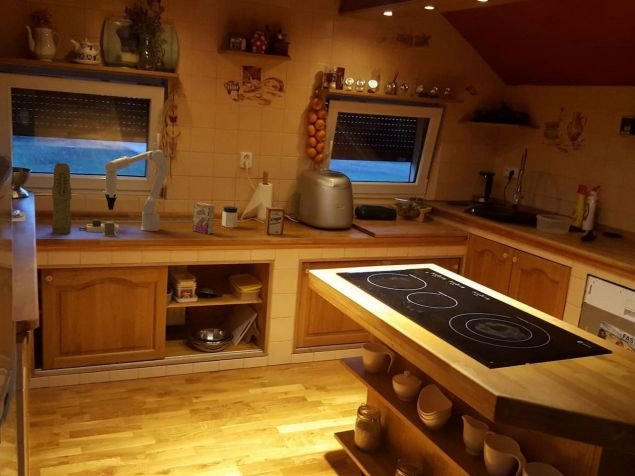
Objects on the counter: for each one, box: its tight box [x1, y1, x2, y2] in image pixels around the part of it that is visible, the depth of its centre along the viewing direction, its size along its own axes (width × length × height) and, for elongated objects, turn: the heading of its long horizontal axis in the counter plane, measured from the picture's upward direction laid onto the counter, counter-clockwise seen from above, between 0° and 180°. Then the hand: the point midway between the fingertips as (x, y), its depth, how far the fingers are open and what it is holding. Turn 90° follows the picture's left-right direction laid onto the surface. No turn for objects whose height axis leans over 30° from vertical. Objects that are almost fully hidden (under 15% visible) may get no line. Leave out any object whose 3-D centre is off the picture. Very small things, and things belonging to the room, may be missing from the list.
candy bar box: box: [192, 201, 215, 235], centre depth 336 cm, size 11×5×16 cm, turn 59°
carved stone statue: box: [51, 162, 72, 235], centre depth 303 cm, size 9×12×35 cm
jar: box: [221, 205, 239, 228], centre depth 359 cm, size 9×8×12 cm
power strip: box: [78, 223, 120, 233], centre depth 318 cm, size 20×8×3 cm, turn 111°
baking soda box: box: [264, 206, 286, 236], centre depth 349 cm, size 10×6×16 cm
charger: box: [104, 221, 115, 235], centre depth 310 cm, size 4×4×6 cm
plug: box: [91, 218, 102, 226], centre depth 317 cm, size 4×4×3 cm
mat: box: [101, 232, 118, 237], centre depth 311 cm, size 7×7×1 cm
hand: (110, 208), depth 327 cm, fingers open, 7 cm apart
